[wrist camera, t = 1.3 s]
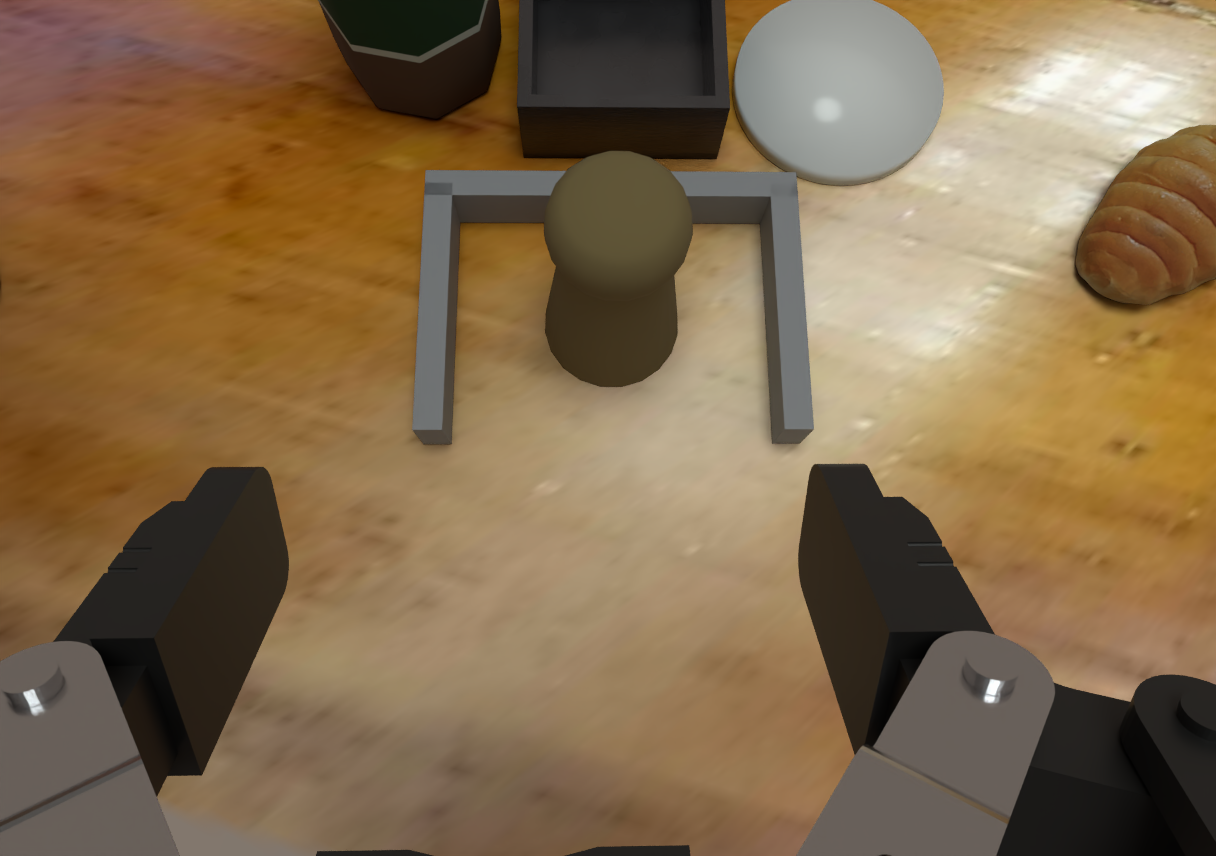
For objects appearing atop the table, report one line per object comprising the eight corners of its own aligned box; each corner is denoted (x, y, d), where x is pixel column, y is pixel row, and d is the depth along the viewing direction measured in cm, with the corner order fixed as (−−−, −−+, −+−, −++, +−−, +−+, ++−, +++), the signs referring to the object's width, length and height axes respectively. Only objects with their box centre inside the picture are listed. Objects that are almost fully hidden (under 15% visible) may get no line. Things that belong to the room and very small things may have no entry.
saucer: (736, 185, 41) (740, 173, 40) (728, 6, 44) (731, -8, 43) (945, 186, 42) (954, 175, 41) (925, 8, 44) (932, -6, 43)
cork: (583, 241, 40) (581, 93, 30) (700, 297, 40) (741, 168, 29) (520, 349, 39) (494, 235, 28) (640, 410, 38) (660, 316, 28)
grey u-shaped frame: (423, 444, 38) (412, 429, 35) (435, 199, 41) (425, 170, 38) (799, 443, 38) (813, 429, 36) (783, 200, 41) (796, 172, 39)
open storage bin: (523, 157, 41) (517, 106, 38) (527, -6, 44) (521, -70, 40) (716, 158, 42) (730, 107, 38) (709, -4, 44) (721, -68, 40)
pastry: (1140, 349, 40) (1195, 317, 36) (1031, 246, 41) (1074, 205, 37) (1268, 229, 42) (1334, 187, 38) (1160, 134, 43) (1213, 84, 39)
